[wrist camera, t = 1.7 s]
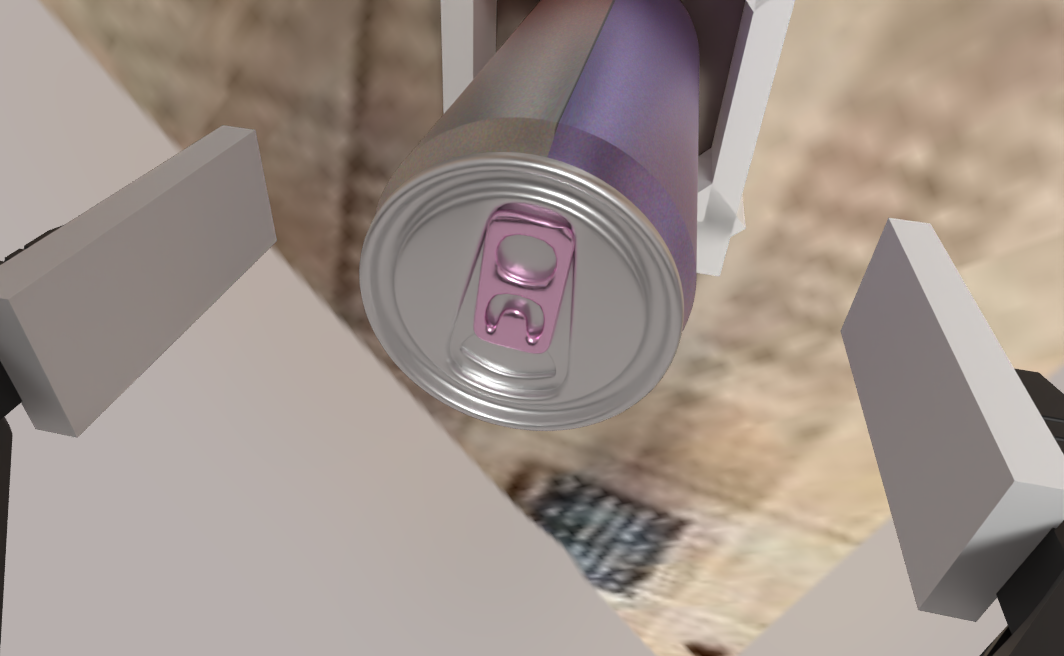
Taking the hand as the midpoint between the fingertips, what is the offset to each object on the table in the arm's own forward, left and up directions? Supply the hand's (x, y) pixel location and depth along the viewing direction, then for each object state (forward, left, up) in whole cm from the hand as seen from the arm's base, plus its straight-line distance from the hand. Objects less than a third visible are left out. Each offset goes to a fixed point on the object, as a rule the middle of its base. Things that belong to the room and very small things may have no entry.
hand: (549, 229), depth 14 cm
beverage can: (0, 0, -12) cm, 12 cm away
